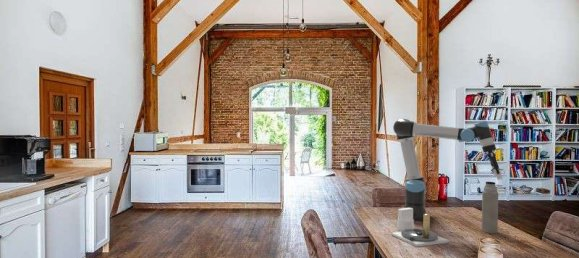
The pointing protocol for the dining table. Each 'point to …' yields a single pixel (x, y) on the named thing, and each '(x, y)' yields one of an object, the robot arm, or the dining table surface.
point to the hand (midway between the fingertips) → (498, 177)
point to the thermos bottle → (490, 208)
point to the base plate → (419, 243)
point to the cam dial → (421, 231)
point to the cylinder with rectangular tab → (405, 219)
